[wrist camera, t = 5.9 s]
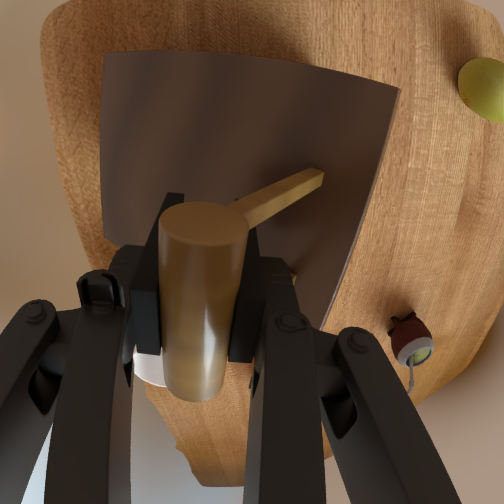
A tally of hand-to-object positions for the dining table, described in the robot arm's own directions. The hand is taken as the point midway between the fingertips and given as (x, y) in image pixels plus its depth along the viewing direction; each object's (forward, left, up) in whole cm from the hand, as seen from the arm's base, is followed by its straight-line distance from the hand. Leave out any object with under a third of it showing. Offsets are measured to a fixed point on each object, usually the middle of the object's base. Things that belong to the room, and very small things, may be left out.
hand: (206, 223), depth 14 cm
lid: (0, -1, -5) cm, 5 cm away
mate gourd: (+27, +33, -22) cm, 48 cm away
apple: (-13, +29, -22) cm, 39 cm away
